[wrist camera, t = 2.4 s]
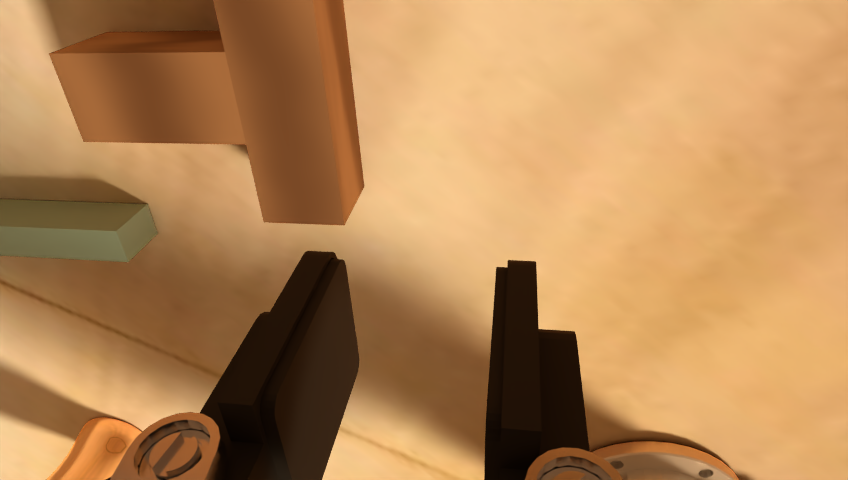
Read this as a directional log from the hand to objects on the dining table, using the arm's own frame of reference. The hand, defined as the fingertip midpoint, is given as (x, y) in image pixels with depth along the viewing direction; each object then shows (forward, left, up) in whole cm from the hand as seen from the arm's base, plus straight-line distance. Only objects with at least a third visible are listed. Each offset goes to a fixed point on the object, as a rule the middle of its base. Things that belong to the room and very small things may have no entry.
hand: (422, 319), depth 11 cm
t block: (+12, 0, -17) cm, 21 cm away
